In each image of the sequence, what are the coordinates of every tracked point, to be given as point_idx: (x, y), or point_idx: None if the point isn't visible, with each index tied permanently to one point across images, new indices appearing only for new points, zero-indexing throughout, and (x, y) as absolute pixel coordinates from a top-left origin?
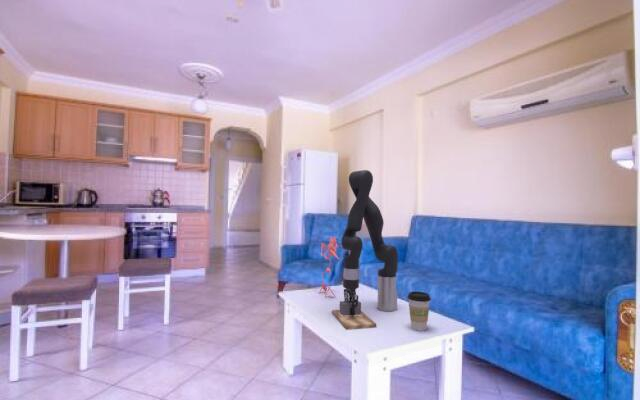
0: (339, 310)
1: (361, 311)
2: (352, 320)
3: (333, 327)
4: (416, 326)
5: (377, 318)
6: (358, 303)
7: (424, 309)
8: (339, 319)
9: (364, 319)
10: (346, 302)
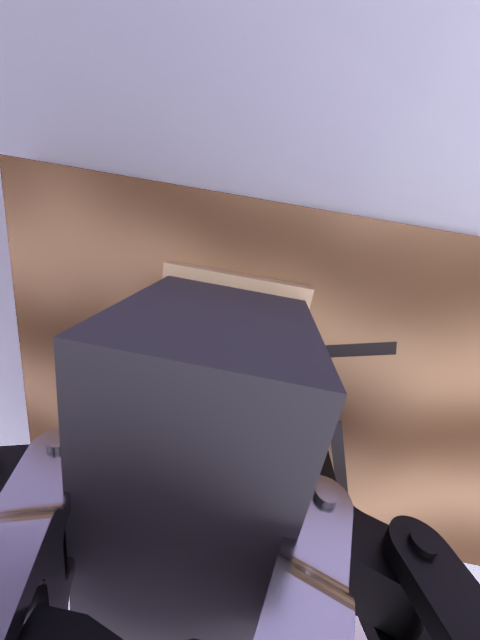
0: (50, 419)
1: (139, 185)
2: (392, 460)
3: None
4: None
5: (387, 32)
6: (322, 454)
7: None
8: None
9: (445, 329)
10: (175, 619)
